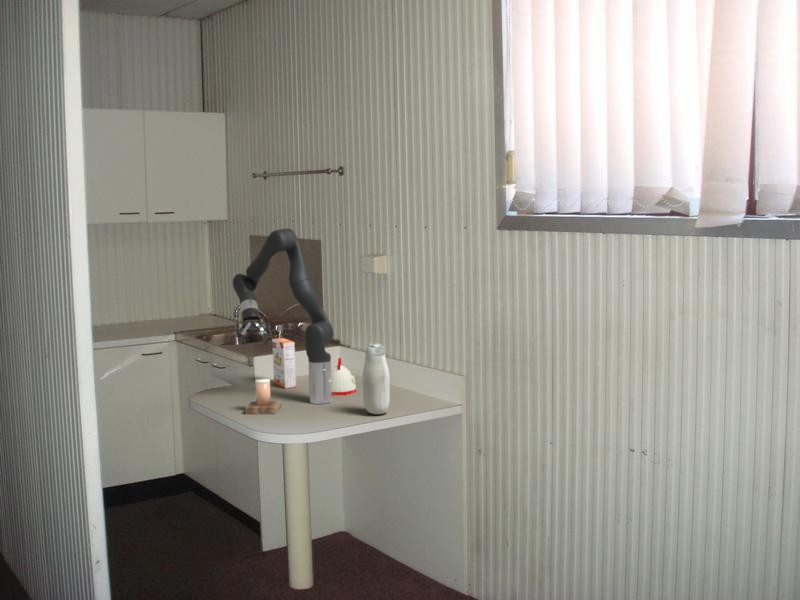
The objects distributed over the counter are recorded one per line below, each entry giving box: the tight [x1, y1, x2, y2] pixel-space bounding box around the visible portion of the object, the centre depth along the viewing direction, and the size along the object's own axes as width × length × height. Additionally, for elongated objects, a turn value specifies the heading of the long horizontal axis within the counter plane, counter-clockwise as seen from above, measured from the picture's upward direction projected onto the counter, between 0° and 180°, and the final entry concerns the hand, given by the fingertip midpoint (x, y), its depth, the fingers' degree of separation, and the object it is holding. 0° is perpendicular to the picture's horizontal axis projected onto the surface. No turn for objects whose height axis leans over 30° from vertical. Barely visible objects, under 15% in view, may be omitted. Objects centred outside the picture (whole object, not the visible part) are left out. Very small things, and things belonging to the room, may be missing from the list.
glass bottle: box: [362, 342, 391, 416], centre depth 360 cm, size 10×10×28 cm
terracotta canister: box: [254, 377, 272, 406], centre depth 370 cm, size 6×6×10 cm
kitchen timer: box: [331, 357, 357, 396], centre depth 402 cm, size 14×14×15 cm
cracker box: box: [271, 337, 297, 390], centre depth 418 cm, size 14×6×21 cm, turn 28°
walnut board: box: [245, 400, 282, 415], centre depth 370 cm, size 12×12×2 cm
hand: (255, 343), depth 384 cm, fingers open, 8 cm apart
